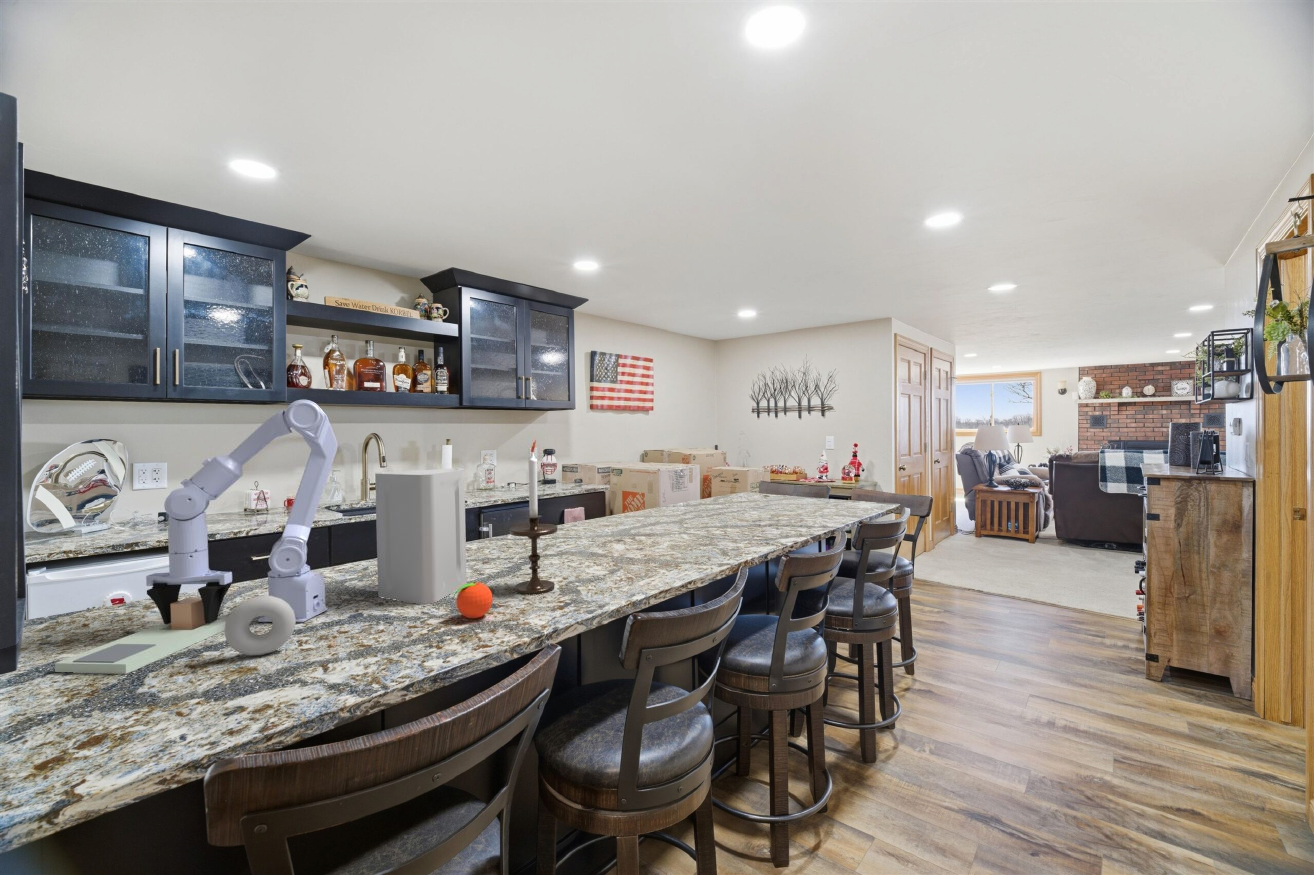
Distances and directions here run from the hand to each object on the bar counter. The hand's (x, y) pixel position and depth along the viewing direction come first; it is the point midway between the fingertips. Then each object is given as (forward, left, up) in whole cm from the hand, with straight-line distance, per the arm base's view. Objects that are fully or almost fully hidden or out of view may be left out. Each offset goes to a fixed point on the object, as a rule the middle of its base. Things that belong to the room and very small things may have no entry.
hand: (190, 622), depth 107 cm
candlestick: (-58, -29, -2) cm, 65 cm away
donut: (-22, +10, -2) cm, 24 cm away
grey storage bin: (-34, -24, -2) cm, 42 cm away
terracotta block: (0, 0, -2) cm, 2 cm away
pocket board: (0, +7, -2) cm, 7 cm away
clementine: (-51, -9, -2) cm, 52 cm away
